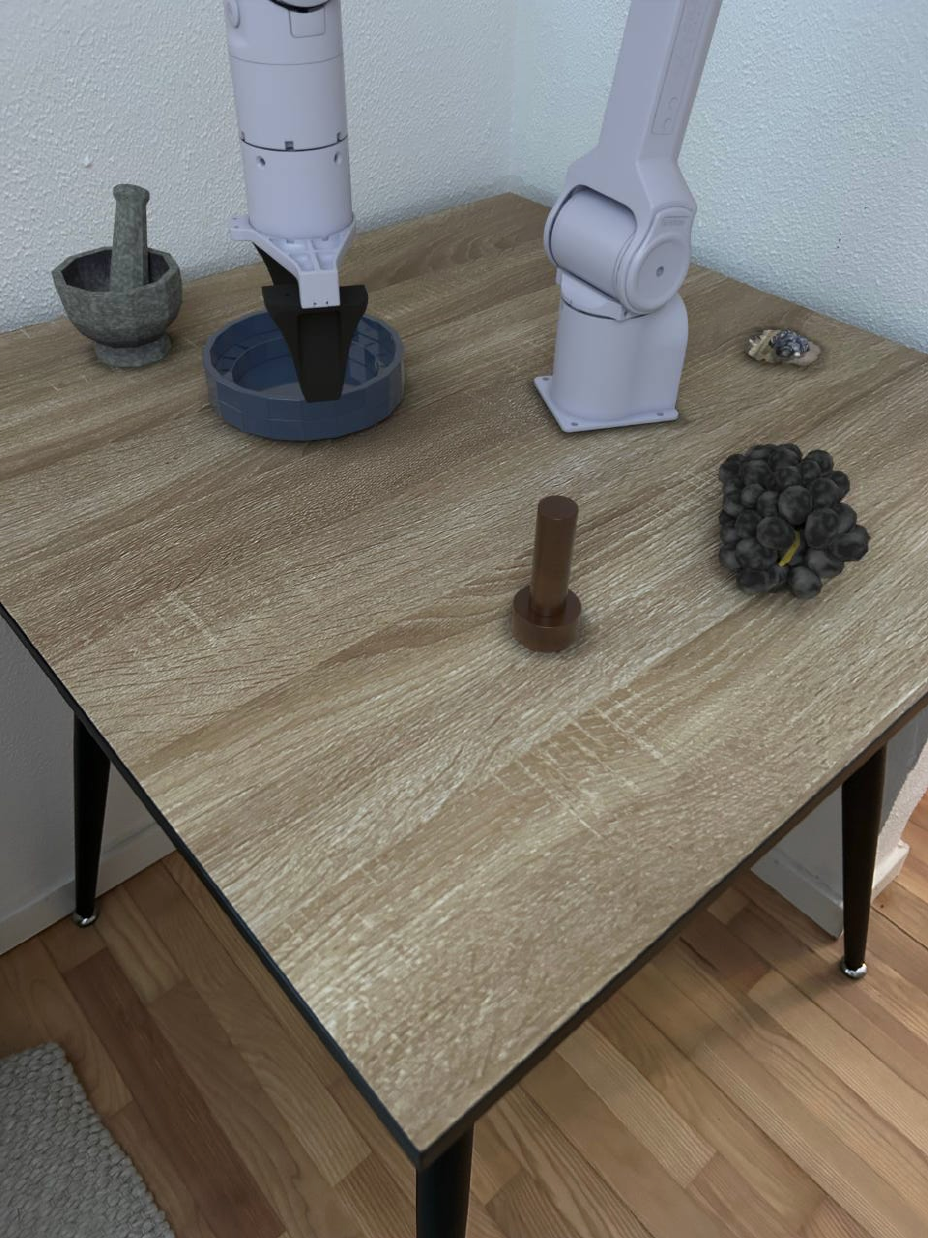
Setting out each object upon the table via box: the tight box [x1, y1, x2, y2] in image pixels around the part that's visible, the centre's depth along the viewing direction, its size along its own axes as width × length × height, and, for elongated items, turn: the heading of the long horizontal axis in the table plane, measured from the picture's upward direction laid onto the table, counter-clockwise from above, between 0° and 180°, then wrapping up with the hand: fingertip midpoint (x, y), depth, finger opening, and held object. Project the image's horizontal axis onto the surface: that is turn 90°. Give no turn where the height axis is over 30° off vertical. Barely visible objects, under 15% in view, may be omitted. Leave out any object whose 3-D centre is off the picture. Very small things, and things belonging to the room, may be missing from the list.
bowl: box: [201, 308, 406, 442], centre depth 76 cm, size 15×15×4 cm
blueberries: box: [743, 328, 822, 367], centre depth 84 cm, size 7×8×2 cm
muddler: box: [510, 494, 582, 653], centre depth 55 cm, size 4×4×9 cm
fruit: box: [717, 442, 871, 601], centre depth 62 cm, size 9×8×15 cm
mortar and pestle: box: [50, 183, 183, 368], centre depth 79 cm, size 11×9×12 cm
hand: (314, 367), depth 61 cm, fingers open, 7 cm apart
